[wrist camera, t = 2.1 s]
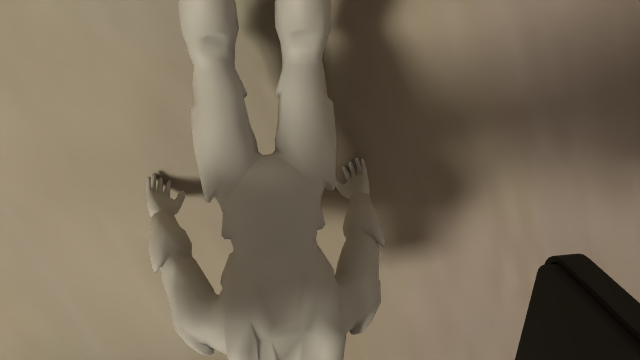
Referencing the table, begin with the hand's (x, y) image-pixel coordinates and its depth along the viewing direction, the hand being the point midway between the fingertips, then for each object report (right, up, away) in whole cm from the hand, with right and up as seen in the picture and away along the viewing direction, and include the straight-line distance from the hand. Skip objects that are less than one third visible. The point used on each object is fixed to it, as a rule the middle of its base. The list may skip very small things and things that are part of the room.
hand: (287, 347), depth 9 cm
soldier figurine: (-1, +5, +6) cm, 8 cm away
